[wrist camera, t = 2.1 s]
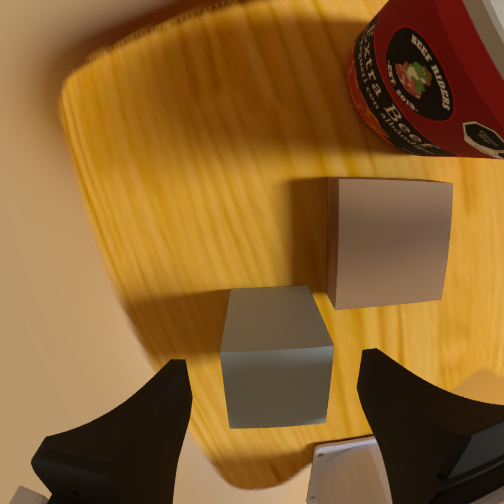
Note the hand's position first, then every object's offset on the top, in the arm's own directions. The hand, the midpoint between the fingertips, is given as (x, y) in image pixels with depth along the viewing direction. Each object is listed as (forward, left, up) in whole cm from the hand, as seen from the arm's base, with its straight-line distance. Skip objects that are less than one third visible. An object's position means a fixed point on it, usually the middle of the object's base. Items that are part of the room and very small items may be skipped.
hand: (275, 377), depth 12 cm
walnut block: (+4, -6, -5) cm, 9 cm away
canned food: (+12, -8, -5) cm, 16 cm away
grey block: (0, 0, -5) cm, 5 cm away
